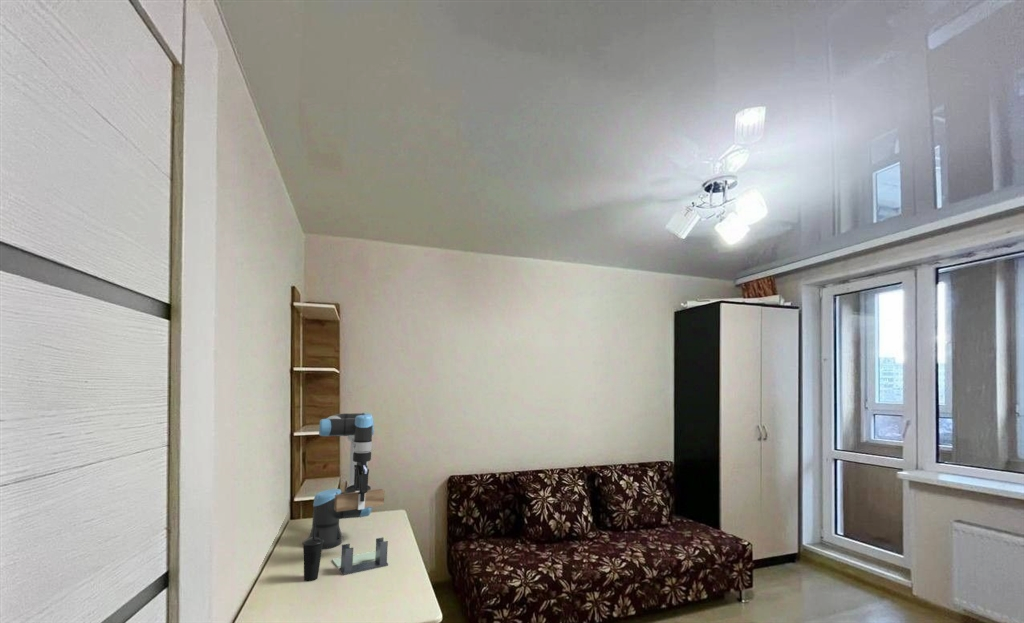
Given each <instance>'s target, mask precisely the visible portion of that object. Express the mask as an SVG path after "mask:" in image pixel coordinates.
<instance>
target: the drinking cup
mask: <svg viewBox="0 0 1024 623" xmlns="http://www.w3.org/2000/svg"><path fill="white" fill-rule="evenodd" d="M323 542H324V539H322V538H319V537H315V524H313V537H311V538H309V539H308V538H306V539H305V540H303V541H302V545H303V546H302V548H303V552H302V553H303V580H304V582H313V581H317V580H318V579H319V578H318V577H319V571H320V566H321V559H322V558H321V557H322V551H323V549H322V546H323Z"/></svg>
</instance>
